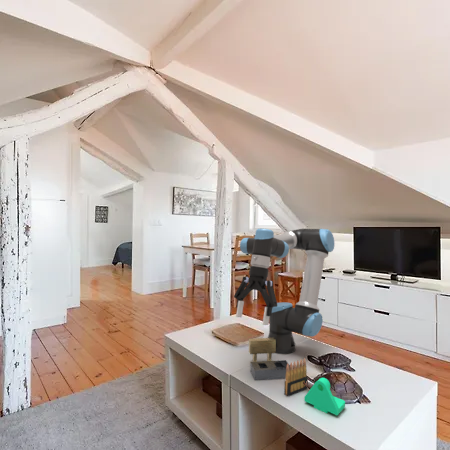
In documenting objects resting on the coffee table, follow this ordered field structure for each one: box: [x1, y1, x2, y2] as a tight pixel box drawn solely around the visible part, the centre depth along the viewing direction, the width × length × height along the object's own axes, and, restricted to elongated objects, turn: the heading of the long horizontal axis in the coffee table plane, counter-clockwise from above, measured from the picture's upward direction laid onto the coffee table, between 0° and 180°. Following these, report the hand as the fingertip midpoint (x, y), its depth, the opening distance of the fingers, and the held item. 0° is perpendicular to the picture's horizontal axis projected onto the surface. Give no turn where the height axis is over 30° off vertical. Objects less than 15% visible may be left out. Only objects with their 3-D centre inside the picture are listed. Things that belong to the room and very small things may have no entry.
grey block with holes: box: [250, 359, 290, 381], centre depth 130 cm, size 16×8×4 cm, turn 98°
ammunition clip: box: [283, 357, 308, 398], centre depth 117 cm, size 11×2×12 cm, turn 122°
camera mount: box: [303, 377, 346, 416], centre depth 108 cm, size 12×8×10 cm, turn 47°
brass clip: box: [248, 337, 277, 362], centre depth 141 cm, size 12×3×11 cm, turn 98°
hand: (251, 320), depth 119 cm, fingers open, 13 cm apart
